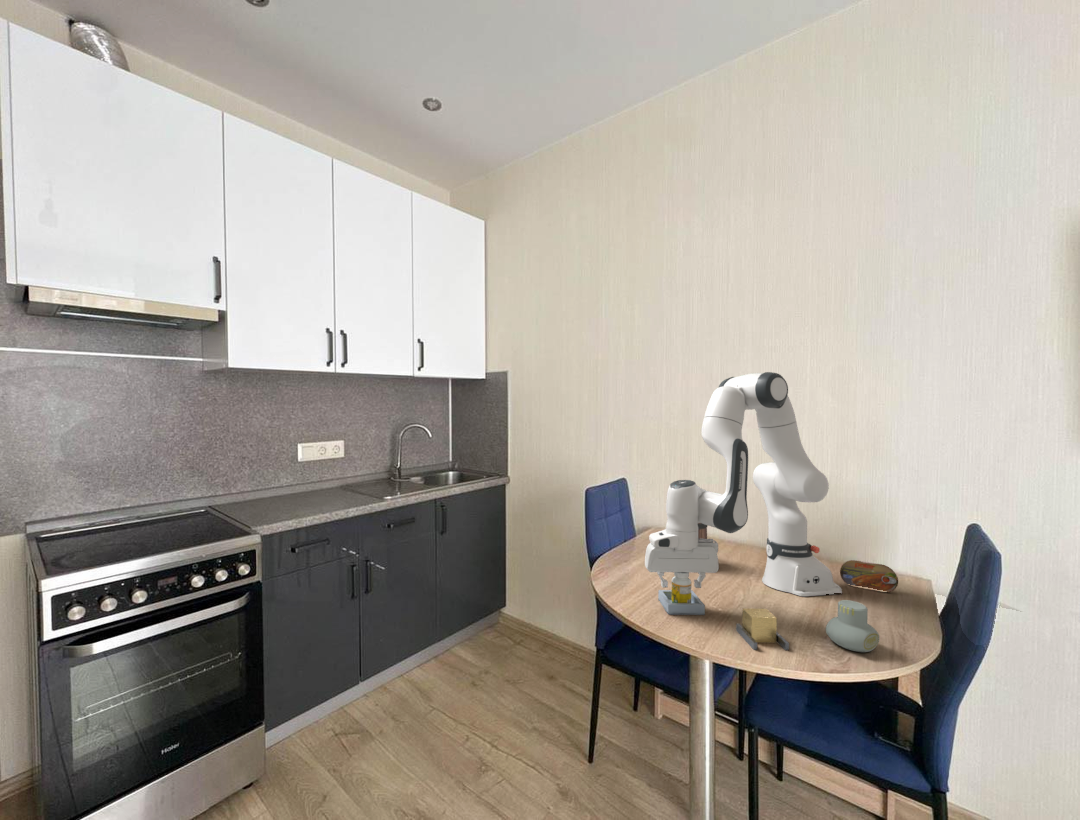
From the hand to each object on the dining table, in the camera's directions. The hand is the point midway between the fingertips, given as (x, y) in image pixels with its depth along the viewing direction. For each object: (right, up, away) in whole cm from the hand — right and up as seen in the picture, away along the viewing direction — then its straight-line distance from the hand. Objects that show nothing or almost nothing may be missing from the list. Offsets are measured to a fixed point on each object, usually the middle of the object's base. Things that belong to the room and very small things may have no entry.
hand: (681, 587), depth 130 cm
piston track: (+14, -6, -14) cm, 21 cm away
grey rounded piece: (+35, -7, -20) cm, 41 cm away
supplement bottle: (0, -5, 0) cm, 5 cm away
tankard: (+14, -6, +40) cm, 43 cm away
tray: (0, -6, 0) cm, 6 cm away
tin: (+65, -7, +16) cm, 67 cm away
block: (+14, -6, -17) cm, 23 cm away
